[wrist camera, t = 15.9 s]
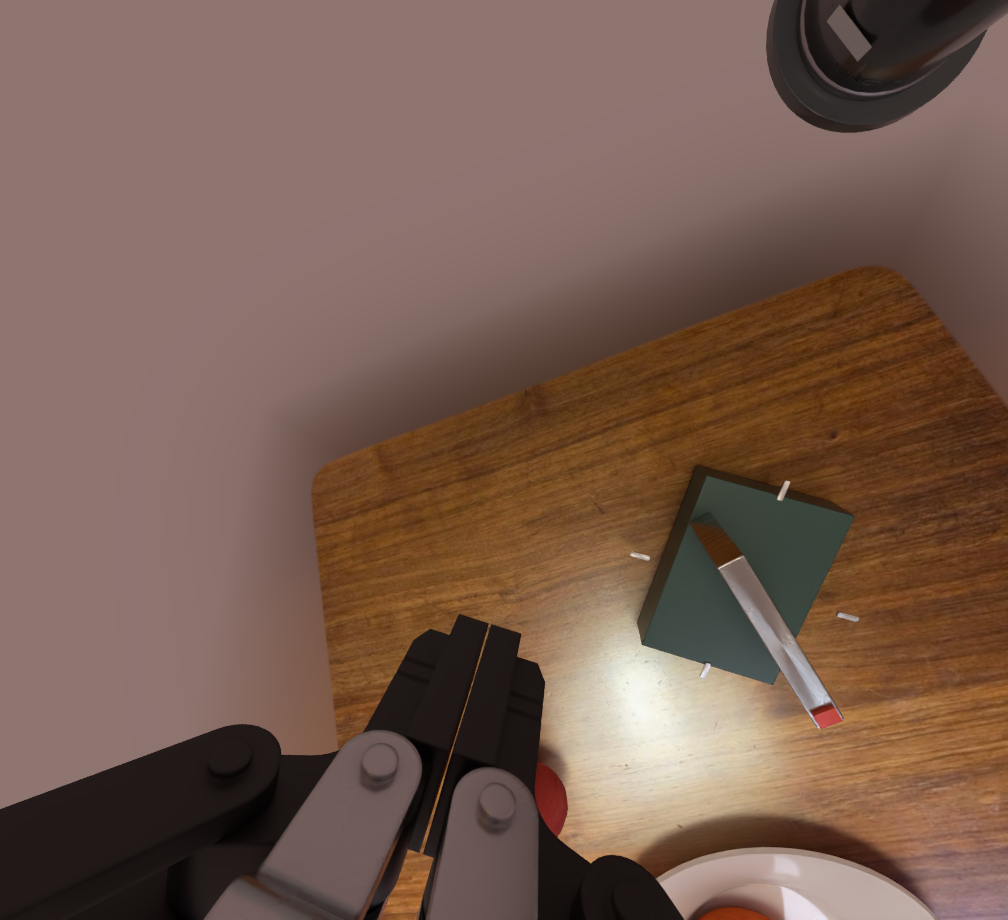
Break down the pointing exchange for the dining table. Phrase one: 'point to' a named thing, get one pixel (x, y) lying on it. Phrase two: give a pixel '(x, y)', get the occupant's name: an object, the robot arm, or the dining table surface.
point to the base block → (770, 552)
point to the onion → (550, 798)
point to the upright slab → (767, 621)
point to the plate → (786, 888)
